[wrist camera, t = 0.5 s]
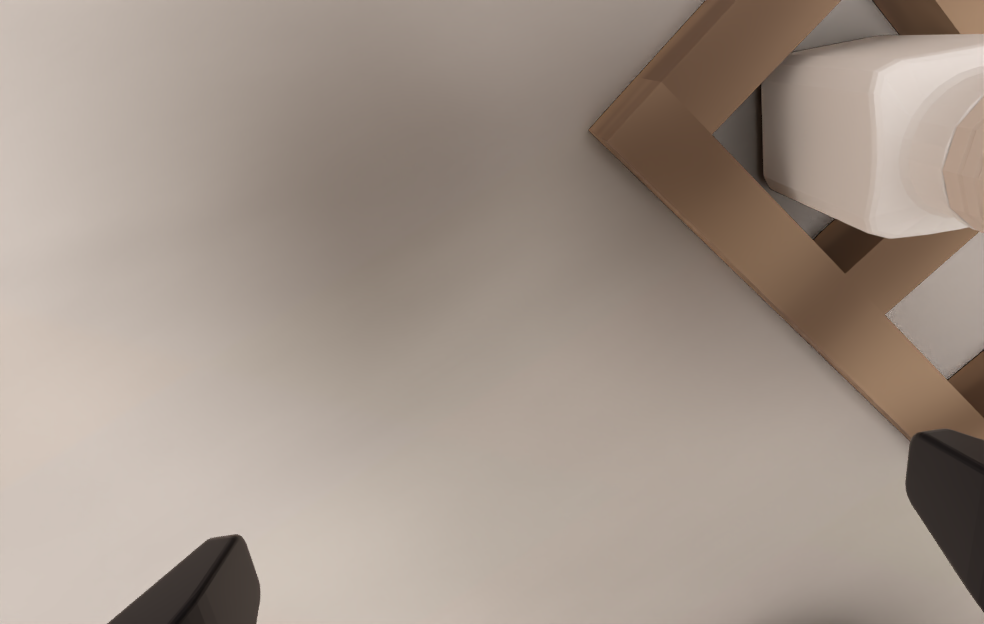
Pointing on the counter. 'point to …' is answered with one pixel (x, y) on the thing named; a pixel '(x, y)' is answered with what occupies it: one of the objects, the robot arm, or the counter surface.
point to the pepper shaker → (881, 132)
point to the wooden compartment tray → (767, 226)
